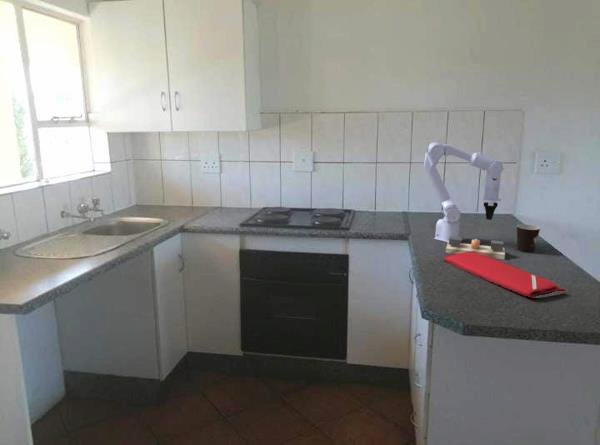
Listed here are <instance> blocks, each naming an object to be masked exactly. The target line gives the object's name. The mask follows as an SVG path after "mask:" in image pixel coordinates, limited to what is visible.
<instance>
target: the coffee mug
mask: <svg viewBox="0 0 600 445" xmlns="http://www.w3.org/2000/svg"><path fill="white" fill-rule="evenodd" d="M540 231H541V227H540V226H537V225H534V224H517V225H516V250H517V251H519V252H521V253H525V254H526V253H527V254H529V253H530V254H531V253H534V252H535V250H536V249H535V248H536V246H537V242H538V237H539V235H540V234H539V233H540Z"/></svg>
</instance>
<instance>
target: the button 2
mask: <svg viewBox="0 0 600 445" xmlns="http://www.w3.org/2000/svg"><path fill="white" fill-rule="evenodd" d="M490 246H491V249H497V250H503V248H504V241H502V240H493V239H491V241H490Z"/></svg>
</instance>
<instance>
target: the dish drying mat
mask: <svg viewBox="0 0 600 445" xmlns="http://www.w3.org/2000/svg"><path fill="white" fill-rule="evenodd" d="M443 261H444V262H446V263H448V264H449V265H452V266H454V267H456V268H458V267H459V268H458V269H460V268H461V270H462V271H464V272H465V271H466V272H467V273H469V272H470V273H469V274H471V273H472V274H471V275H474V276H477V277H478V278H480V277H481V278H480V279H483V280H486V281H488V282H490V283H492V282H493V283H492V284H495V285H498V286H499V285H500V287H502V288H504V289H506V290H509V291H511V290H512V292H514V293H516V292H517V293H516V294H519V295H522V296H524V297H527V296H528V297H527V298H530V297H531V299H534V298H533V297H536V296H539V295H545V294H549V293H552V292H555V291H565V292H566V289H565V288H563V287H561V286H558V285H556V283H554V282H553V281H552V280H548V279H545V278H543V277H540V276H538V275H535V274H533V273H530V272H528V271H526V270H522V269H520V268H518V267H516V266H512V265H510V264H508V263H505V262H503V261H500V260H498V259H495V258H490V257H487V256H485V255H482V254H478V253H472V252H468V253H459V254H450V255H447V256H446V257H444V258H443Z"/></svg>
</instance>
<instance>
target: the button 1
mask: <svg viewBox="0 0 600 445" xmlns="http://www.w3.org/2000/svg"><path fill="white" fill-rule="evenodd" d="M461 239H462V237H461V236H458V237H454V236H450V238H449V245H459V246H460V244H461V243H462V241H461Z"/></svg>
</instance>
